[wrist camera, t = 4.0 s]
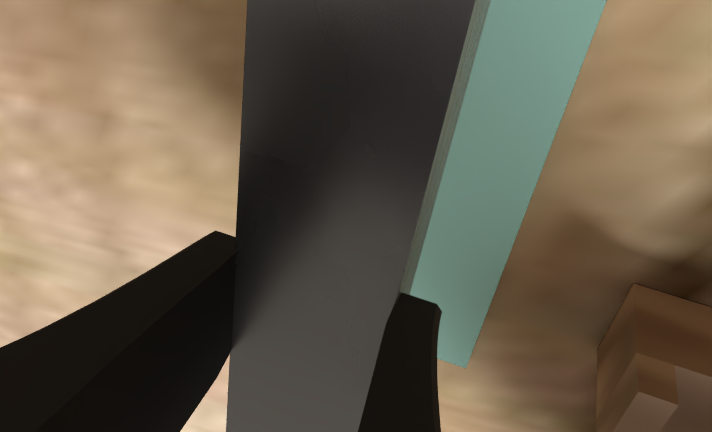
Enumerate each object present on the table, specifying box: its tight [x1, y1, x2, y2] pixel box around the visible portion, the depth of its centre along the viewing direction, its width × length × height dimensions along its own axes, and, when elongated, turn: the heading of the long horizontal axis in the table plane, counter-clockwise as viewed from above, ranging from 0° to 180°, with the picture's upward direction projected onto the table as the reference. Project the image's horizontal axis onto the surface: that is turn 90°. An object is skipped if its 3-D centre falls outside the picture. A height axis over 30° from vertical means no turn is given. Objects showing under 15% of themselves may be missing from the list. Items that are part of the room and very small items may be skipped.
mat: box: [410, 0, 607, 368], centre depth 18 cm, size 20×7×1 cm, turn 171°
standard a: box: [596, 284, 712, 432], centre depth 19 cm, size 3×5×4 cm, turn 81°
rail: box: [226, 0, 491, 432], centre depth 12 cm, size 16×3×3 cm, turn 171°
